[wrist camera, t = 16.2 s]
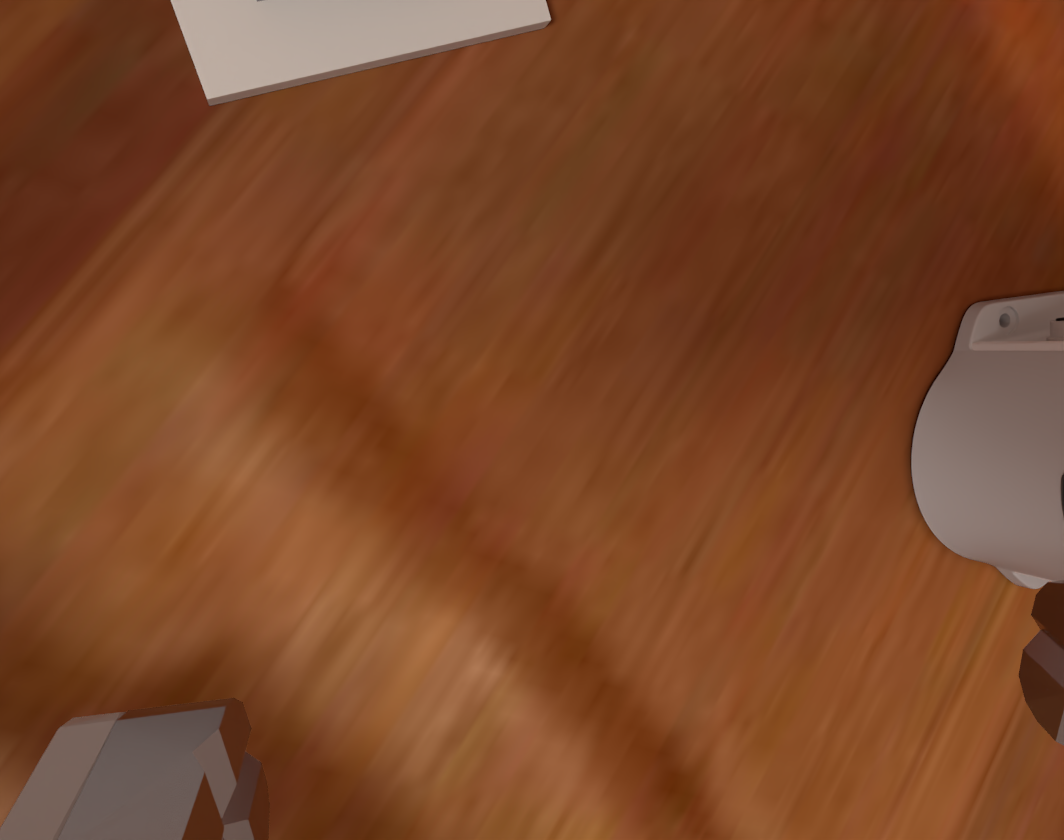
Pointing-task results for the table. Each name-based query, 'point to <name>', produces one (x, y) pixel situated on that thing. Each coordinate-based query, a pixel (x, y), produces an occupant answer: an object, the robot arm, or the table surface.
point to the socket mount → (333, 37)
